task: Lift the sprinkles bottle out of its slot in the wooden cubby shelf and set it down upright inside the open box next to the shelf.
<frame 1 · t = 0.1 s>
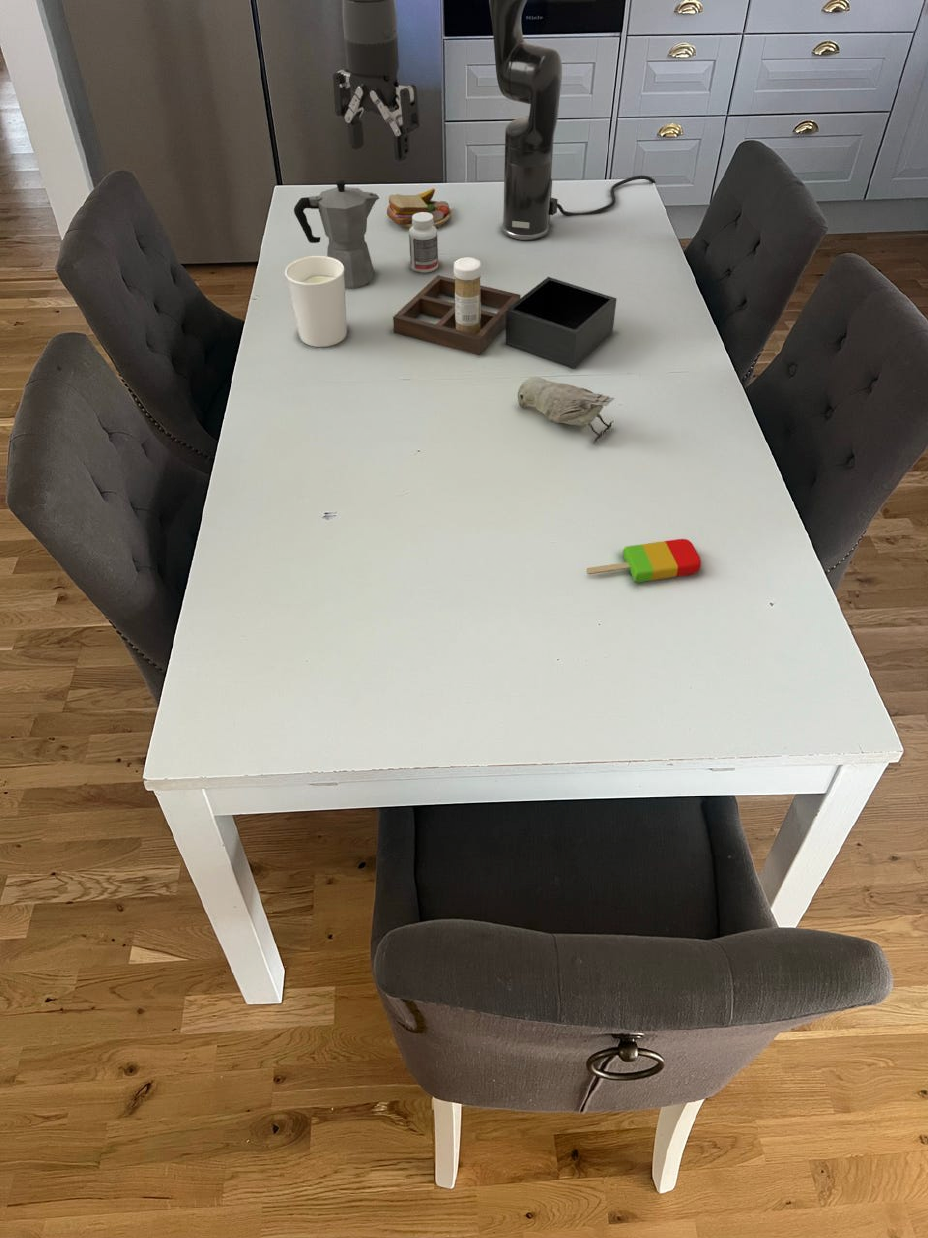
hand: (379, 153, 142), 29 cm above the table, tool pointing down, fingers open, 8 cm apart
decorative bird: (562, 424, 144), on the table
open box: (559, 338, 160), on the table
candle holder: (323, 335, 162), on the table
toy sandwich meal: (419, 220, 192), on the table
wooden cubby shelf: (458, 321, 164), on the table
coffeepot: (344, 278, 175), on the table
sprinkles bottle: (467, 337, 161), resting in wooden cubby shelf
popsicle: (640, 569, 122), on the table
pill bottle: (424, 267, 178), on the table
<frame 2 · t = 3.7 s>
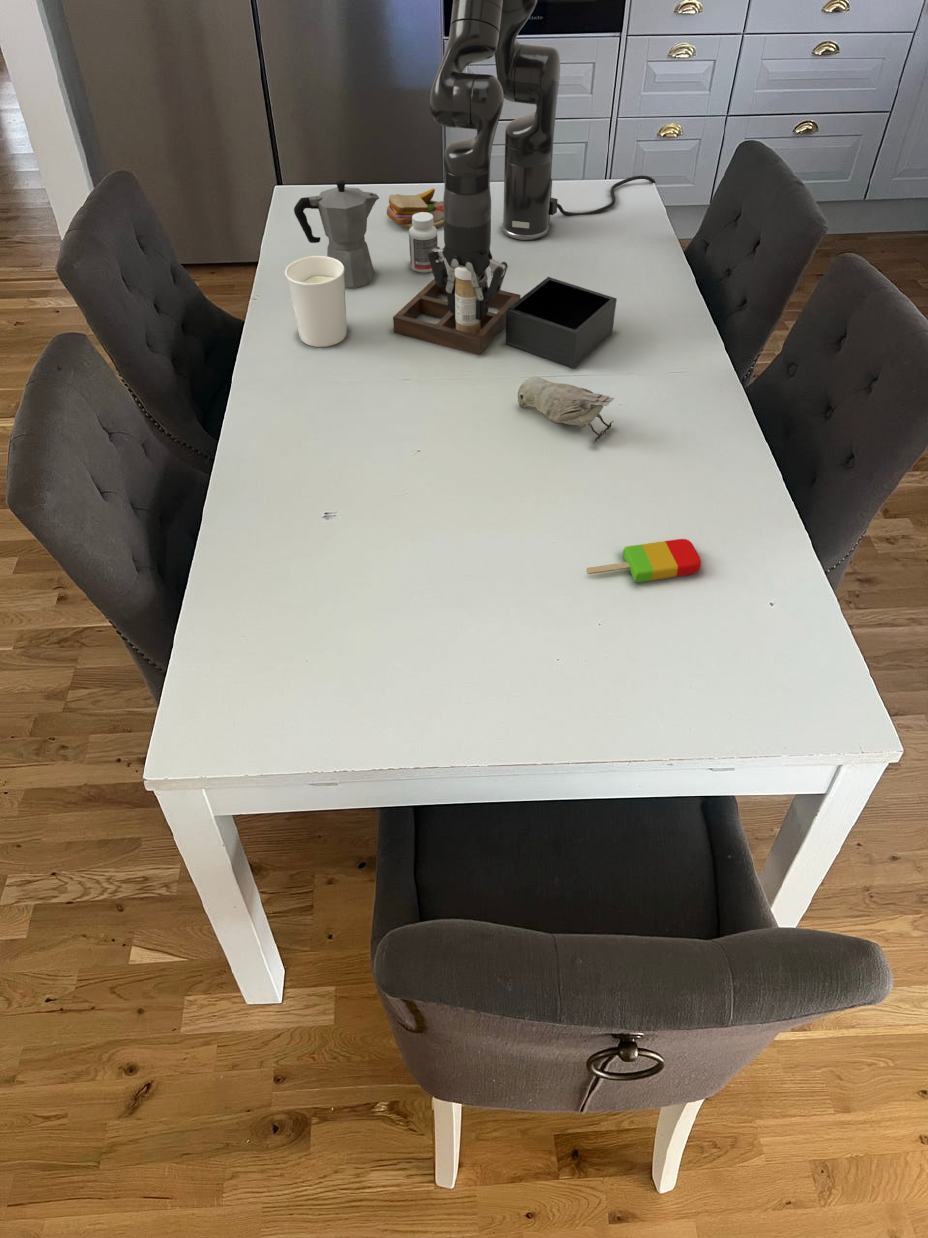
hand: (467, 313, 158), 4 cm above the table, tool pointing down, fingers closed on sprinkles bottle, 4 cm apart
sprinkles bottle: (467, 337, 161), resting in wooden cubby shelf, touching gripper
everything else where it was.
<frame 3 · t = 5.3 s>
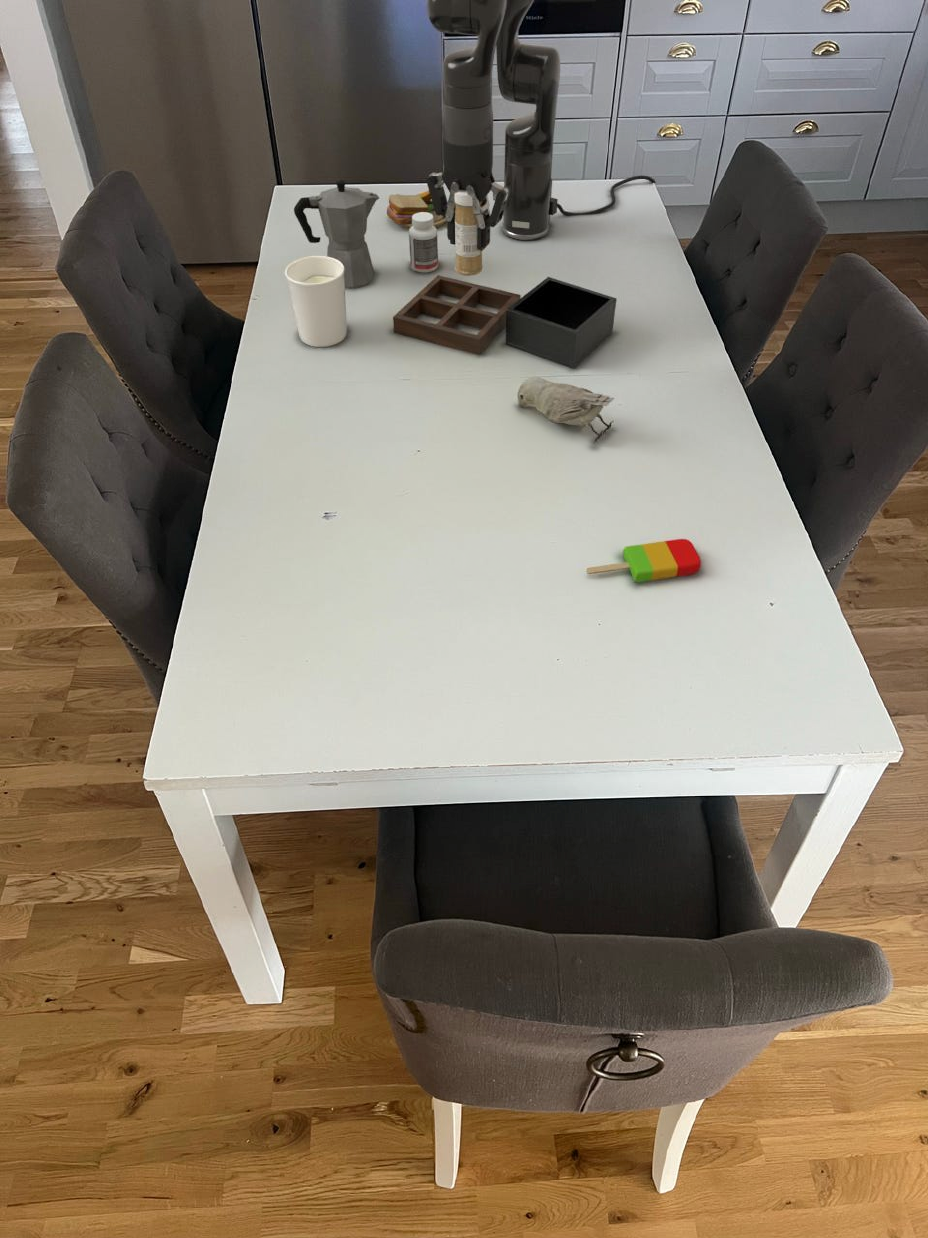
hand: (468, 244, 149), 16 cm above the table, tool pointing down, fingers closed on sprinkles bottle, 4 cm apart
sprinkles bottle: (468, 271, 152), point 12 cm above the table, touching gripper
everything else where it was.
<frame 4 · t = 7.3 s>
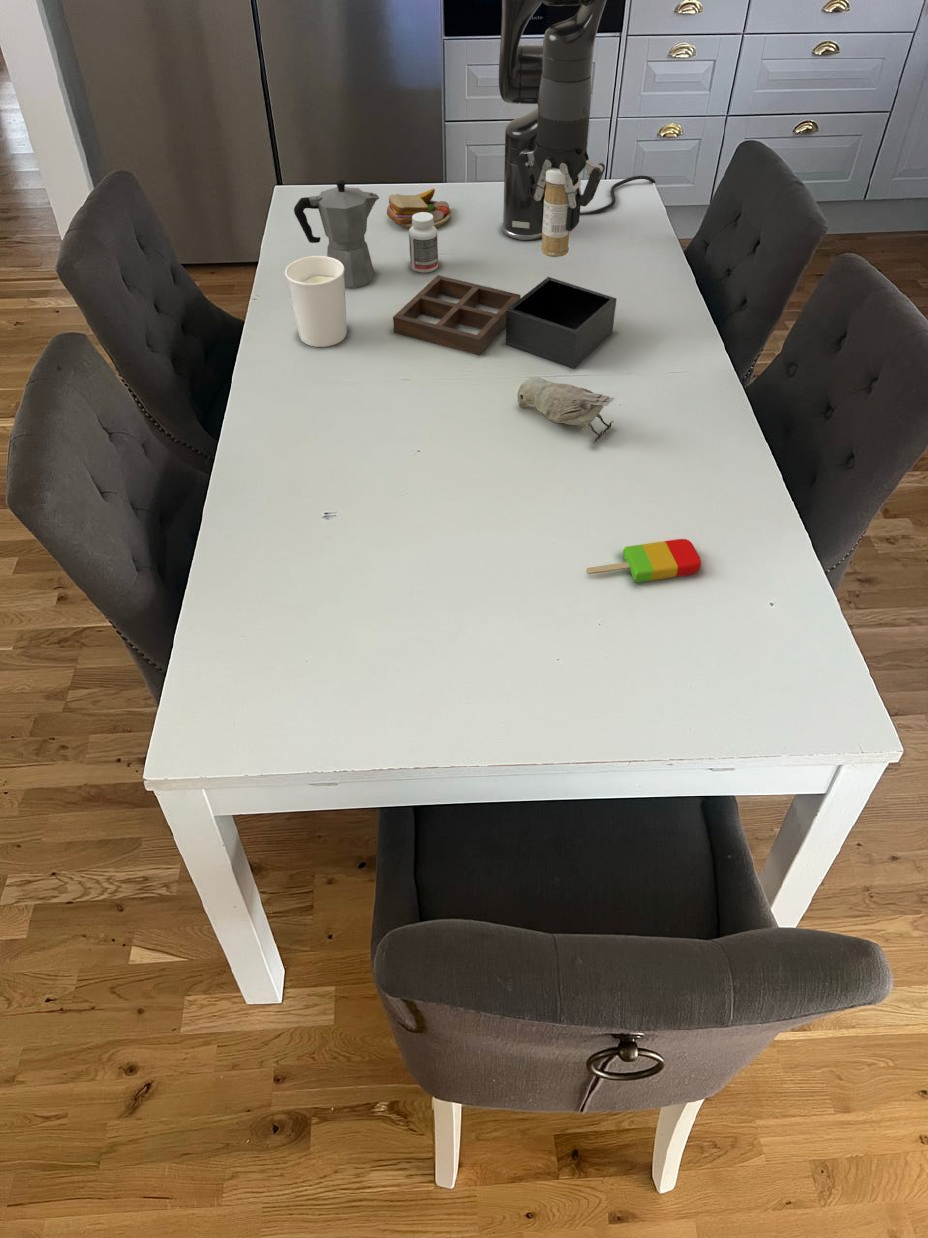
hand: (556, 225, 145), 20 cm above the table, tool pointing down, fingers closed on sprinkles bottle, 4 cm apart
sprinkles bottle: (554, 252, 149), point 15 cm above the table, touching gripper
everything else where it was.
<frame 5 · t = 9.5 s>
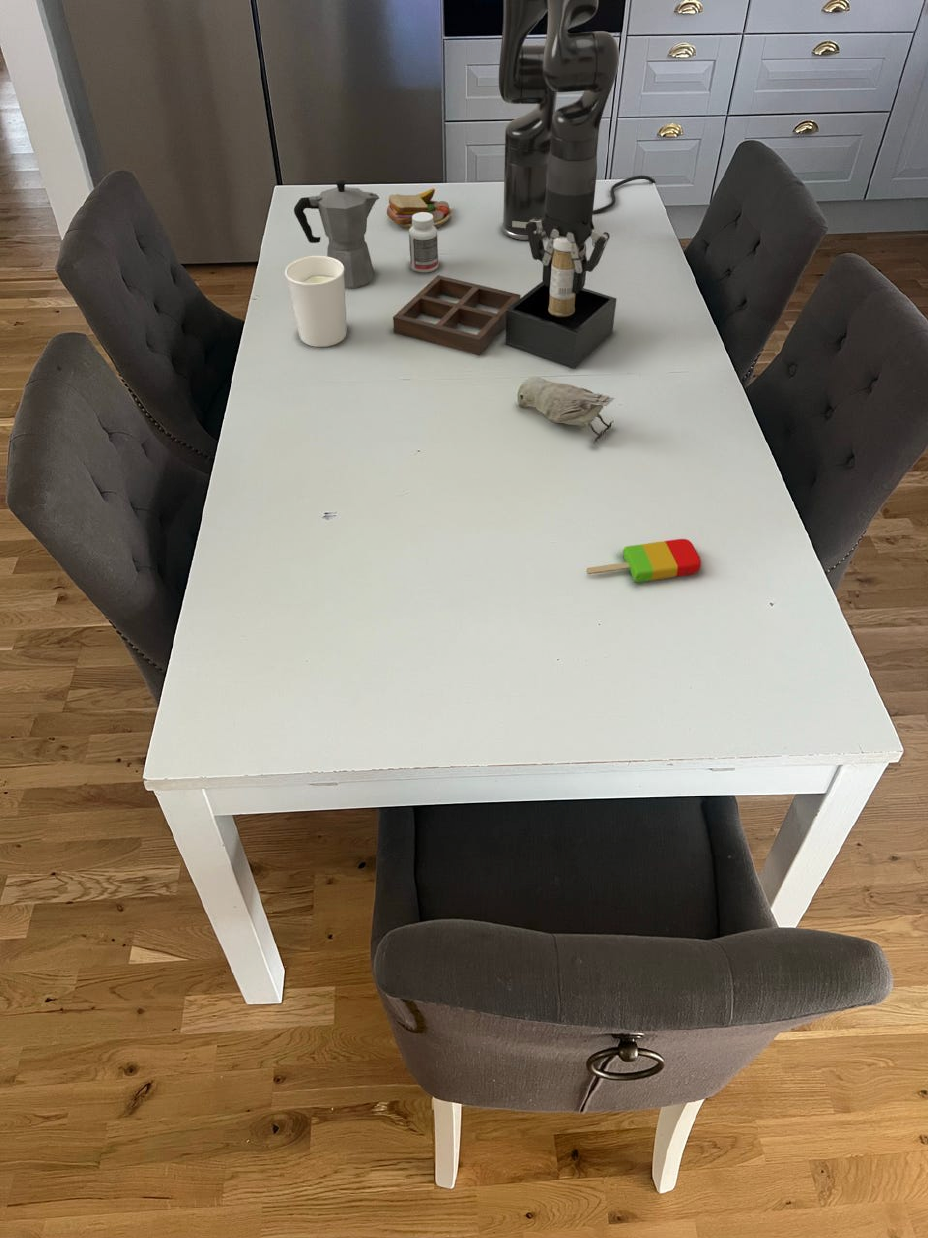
hand: (562, 287, 153), 9 cm above the table, tool pointing down, fingers closed on sprinkles bottle, 4 cm apart
sprinkles bottle: (561, 312, 156), point 5 cm above the table, touching gripper
everything else where it was.
when the fingers open (5 cm above the table, at t = 11.1 s): sprinkles bottle stays where it is, resting on open box.
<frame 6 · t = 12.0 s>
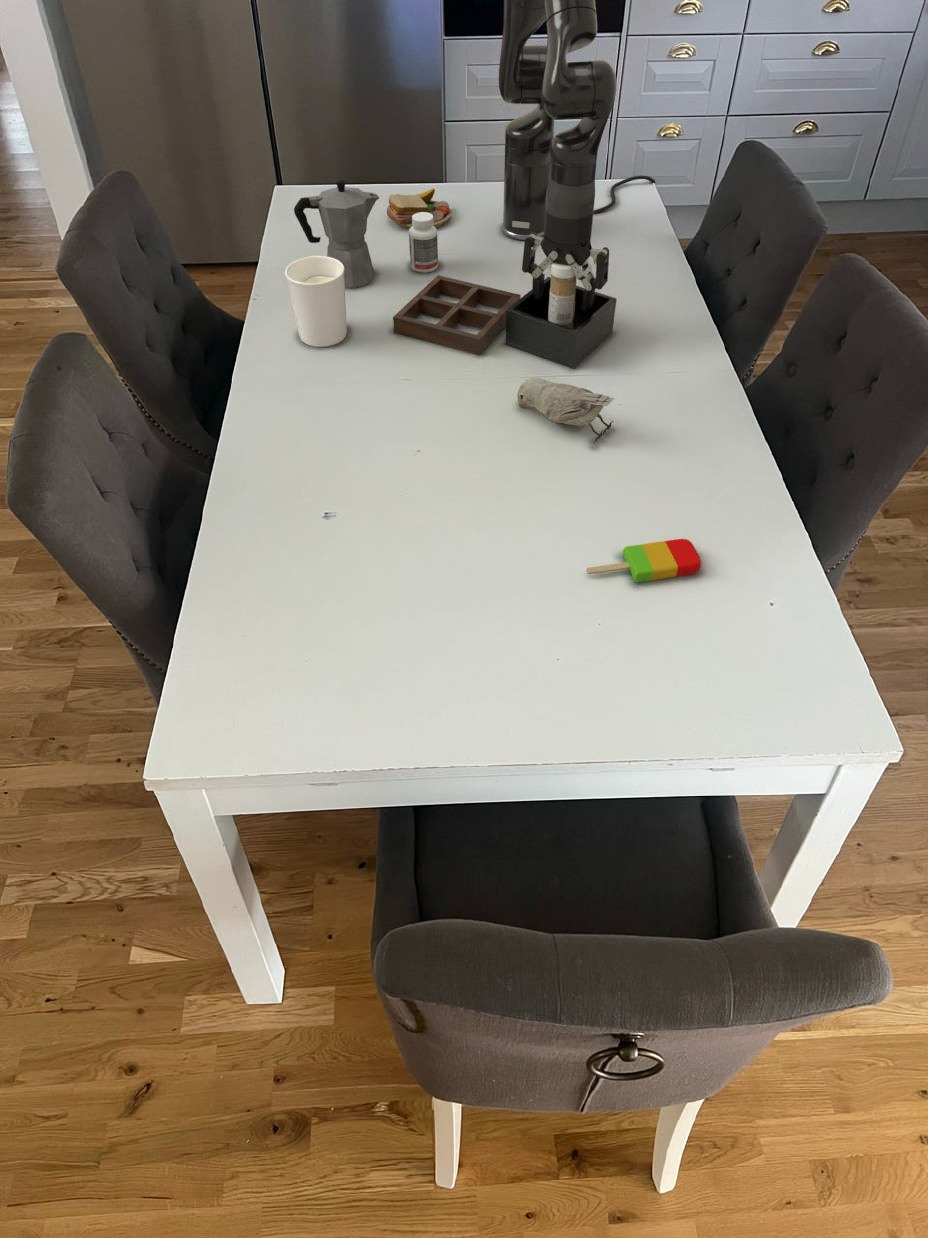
hand: (562, 302, 155), 7 cm above the table, tool pointing down, fingers open, 8 cm apart
sprinkles bottle: (559, 336, 160), resting on open box
everything else where it was.
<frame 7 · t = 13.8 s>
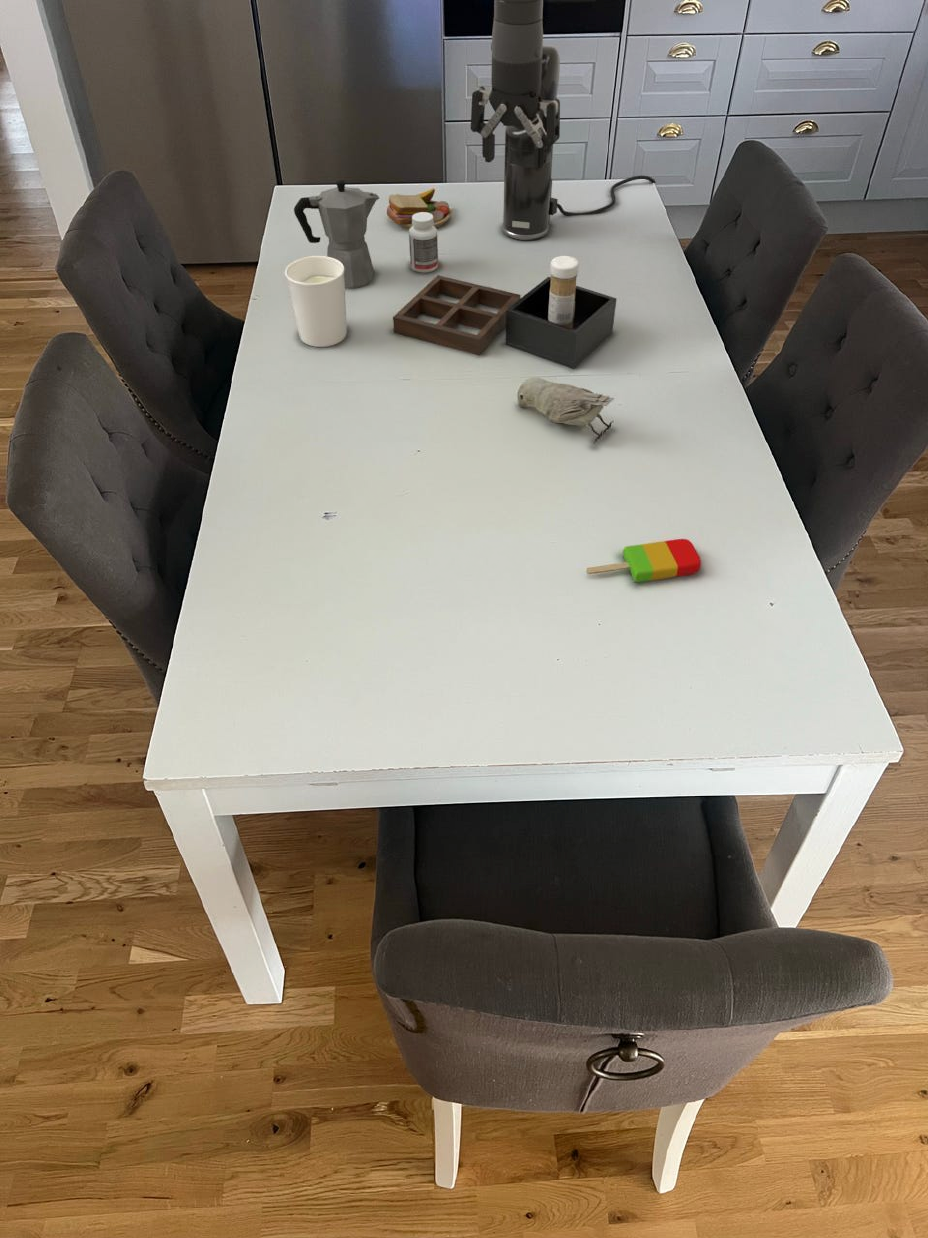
hand: (513, 164, 149), 25 cm above the table, tool pointing down, fingers open, 8 cm apart
nothing on the table moved.
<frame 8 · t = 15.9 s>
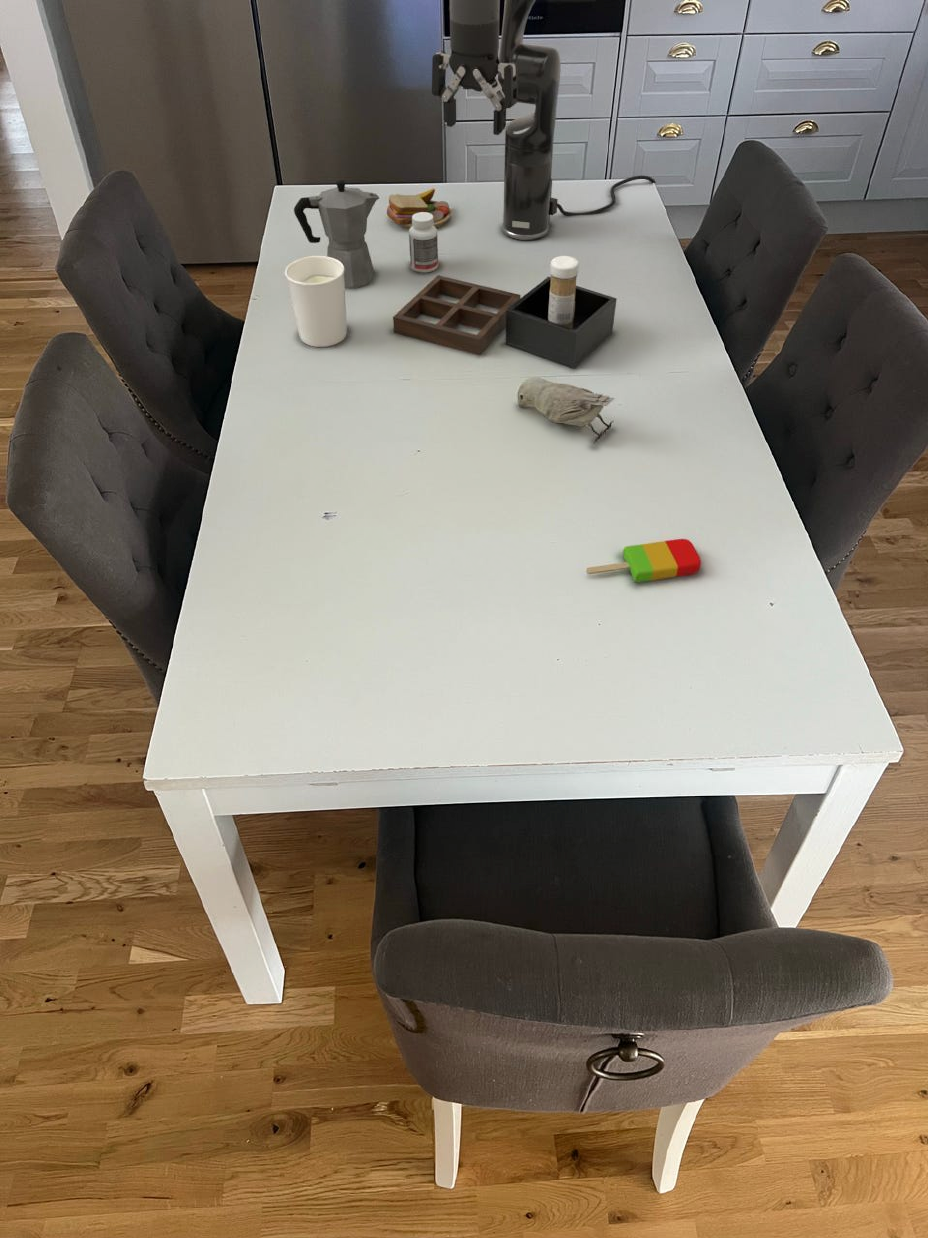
hand: (474, 128, 151), 28 cm above the table, tool pointing down, fingers open, 8 cm apart
nothing on the table moved.
at the end: sprinkles bottle inside the target area in the open box (0.0 cm from its centre), point 0.4 cm above the open box's base; sprinkles bottle tilted 0°; the gripper is holding nothing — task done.
